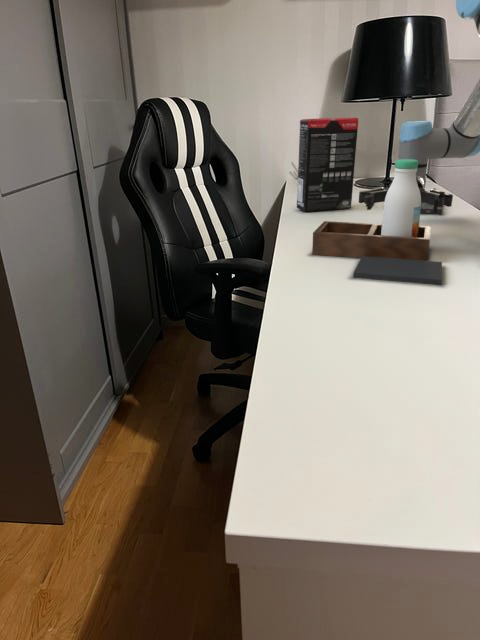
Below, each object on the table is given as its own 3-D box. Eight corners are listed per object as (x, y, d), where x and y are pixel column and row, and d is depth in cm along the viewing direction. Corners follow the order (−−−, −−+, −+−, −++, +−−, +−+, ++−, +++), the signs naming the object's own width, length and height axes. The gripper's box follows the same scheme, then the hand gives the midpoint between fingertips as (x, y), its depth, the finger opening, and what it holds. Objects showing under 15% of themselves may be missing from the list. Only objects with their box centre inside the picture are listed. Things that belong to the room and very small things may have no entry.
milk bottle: (400, 259, 107) (410, 162, 99) (372, 252, 113) (379, 160, 105) (422, 253, 111) (434, 159, 103) (394, 246, 117) (403, 157, 109)
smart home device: (413, 207, 151) (414, 196, 168) (412, 213, 151) (414, 202, 169) (442, 208, 148) (441, 197, 165) (441, 214, 149) (440, 203, 166)
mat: (441, 266, 102) (441, 261, 102) (441, 285, 92) (442, 279, 91) (361, 260, 107) (362, 256, 107) (353, 277, 97) (353, 272, 97)
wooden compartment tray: (428, 248, 115) (430, 226, 113) (426, 263, 105) (430, 239, 103) (323, 241, 123) (324, 221, 121) (312, 254, 112) (312, 232, 111)
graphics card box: (343, 205, 166) (347, 117, 156) (353, 208, 160) (359, 117, 150) (295, 209, 161) (297, 118, 151) (305, 213, 155) (307, 119, 145)
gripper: (459, 207, 122) (462, 225, 104) (356, 203, 130) (342, 219, 112) (464, 175, 119) (468, 188, 101) (358, 173, 128) (344, 185, 109)
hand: (401, 204), depth 107 cm, fingers open, 13 cm apart
